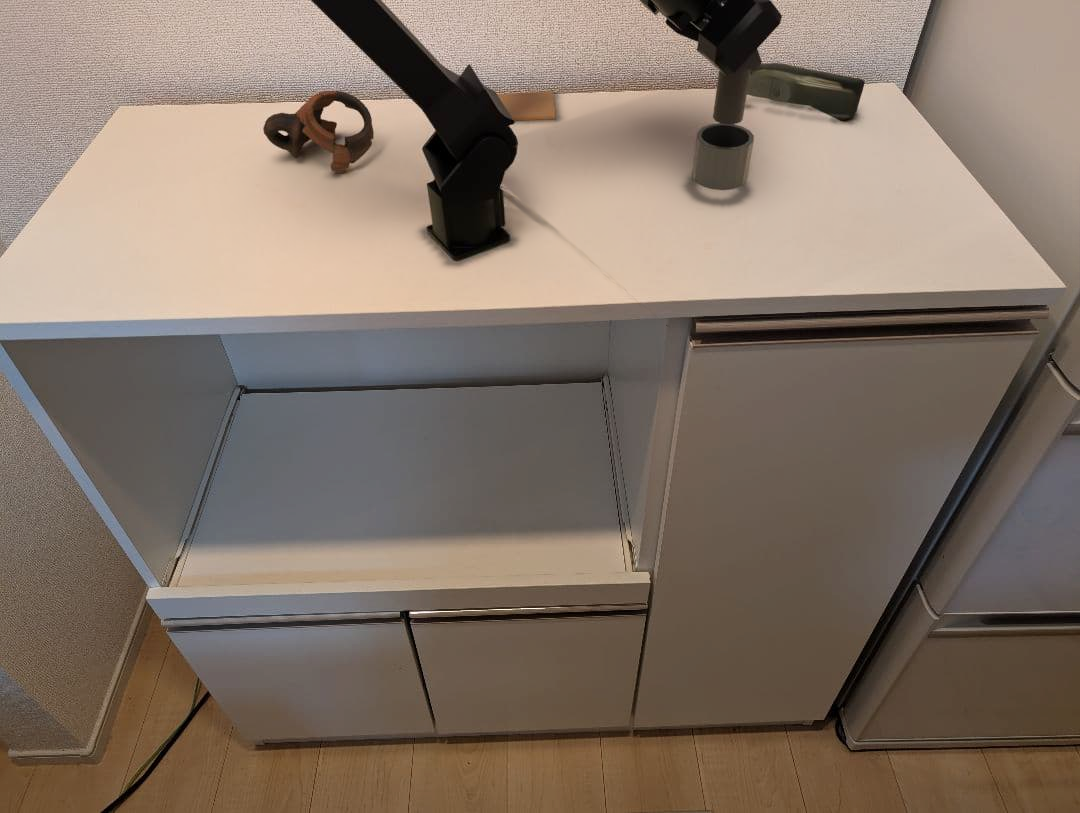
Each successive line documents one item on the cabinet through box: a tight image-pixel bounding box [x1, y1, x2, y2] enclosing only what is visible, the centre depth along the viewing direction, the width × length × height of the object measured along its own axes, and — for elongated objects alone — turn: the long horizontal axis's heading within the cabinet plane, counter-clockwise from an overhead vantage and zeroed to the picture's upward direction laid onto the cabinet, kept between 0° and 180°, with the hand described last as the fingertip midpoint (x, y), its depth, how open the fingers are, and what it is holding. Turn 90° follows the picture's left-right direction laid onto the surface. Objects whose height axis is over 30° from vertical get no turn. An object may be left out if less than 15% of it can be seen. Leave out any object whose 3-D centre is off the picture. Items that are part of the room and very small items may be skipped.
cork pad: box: [497, 91, 557, 122], centre depth 101 cm, size 9×7×1 cm
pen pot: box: [691, 122, 755, 191], centre depth 85 cm, size 6×6×6 cm
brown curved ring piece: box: [262, 90, 375, 174], centre depth 91 cm, size 12×10×8 cm
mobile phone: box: [747, 62, 866, 121], centre depth 97 cm, size 5×3×15 cm
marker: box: [712, 68, 751, 125], centre depth 76 cm, size 3×3×15 cm
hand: (749, 60), depth 77 cm, fingers closed on marker, 3 cm apart
